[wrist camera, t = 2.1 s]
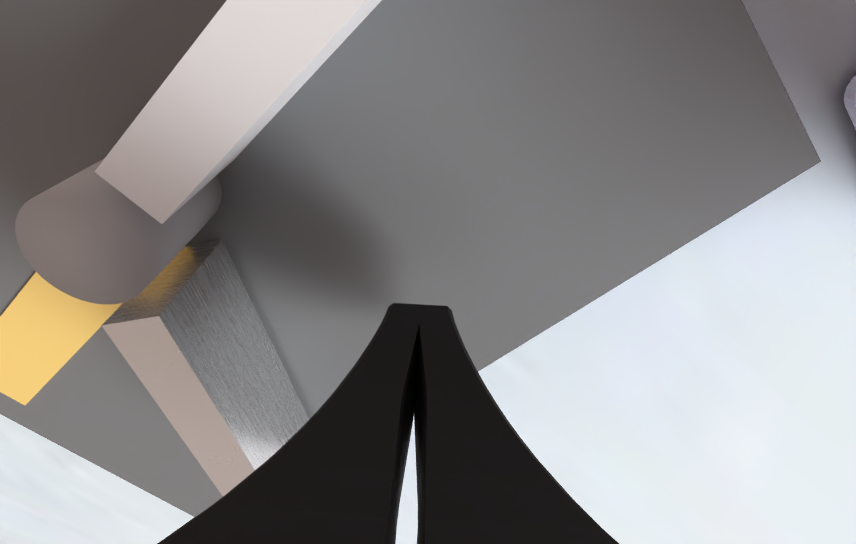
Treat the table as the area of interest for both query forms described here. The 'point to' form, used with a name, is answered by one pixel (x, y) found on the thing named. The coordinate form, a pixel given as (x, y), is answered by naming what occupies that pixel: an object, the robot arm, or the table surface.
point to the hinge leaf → (209, 363)
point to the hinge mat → (352, 178)
